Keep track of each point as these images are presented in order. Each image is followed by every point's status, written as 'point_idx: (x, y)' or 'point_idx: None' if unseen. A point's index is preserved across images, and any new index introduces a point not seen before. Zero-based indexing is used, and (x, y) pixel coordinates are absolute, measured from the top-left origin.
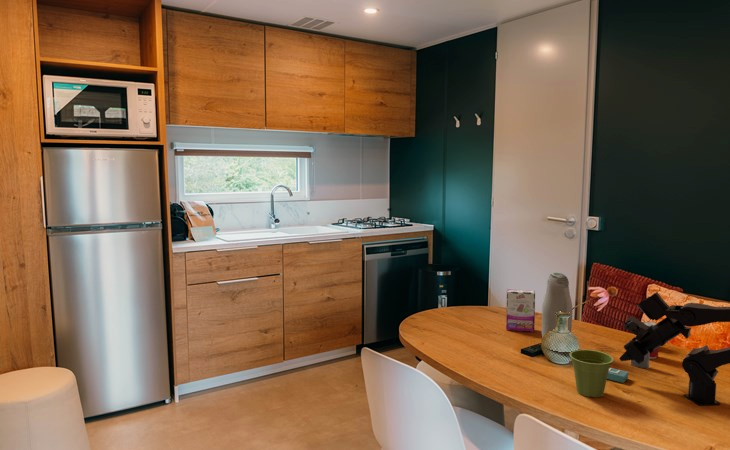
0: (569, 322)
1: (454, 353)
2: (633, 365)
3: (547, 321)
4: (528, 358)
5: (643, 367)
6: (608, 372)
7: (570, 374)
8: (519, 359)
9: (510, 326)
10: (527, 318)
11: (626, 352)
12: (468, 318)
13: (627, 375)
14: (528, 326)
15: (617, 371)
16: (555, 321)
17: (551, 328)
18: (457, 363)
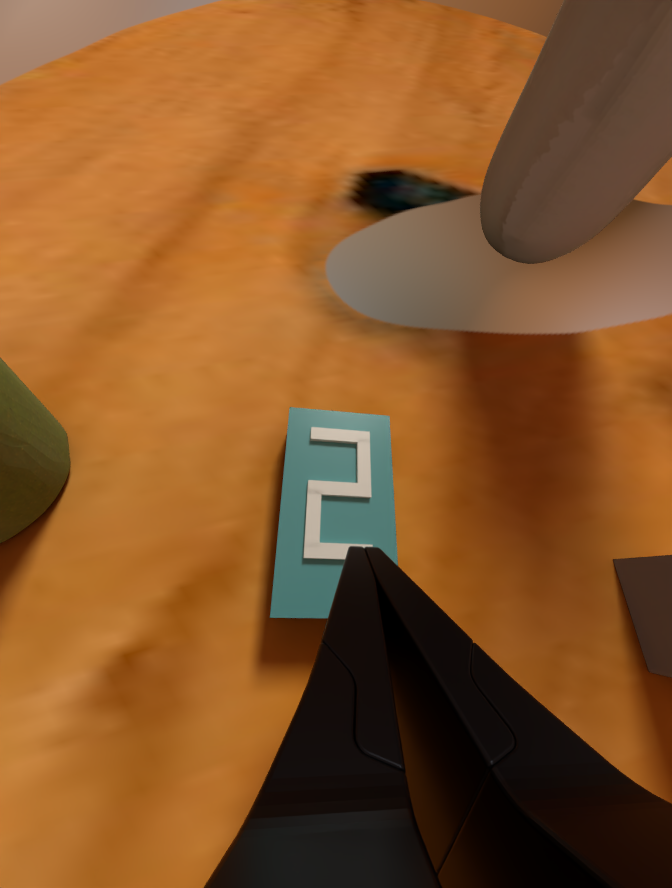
0: (660, 95)
1: (211, 56)
2: (621, 575)
3: (551, 28)
4: (321, 195)
5: (645, 645)
6: (290, 496)
7: (240, 338)
8: (288, 176)
9: None
10: None
11: (313, 676)
12: (521, 66)
13: None
14: None
15: (340, 547)
16: (575, 29)
17: (526, 95)
18: (120, 64)
